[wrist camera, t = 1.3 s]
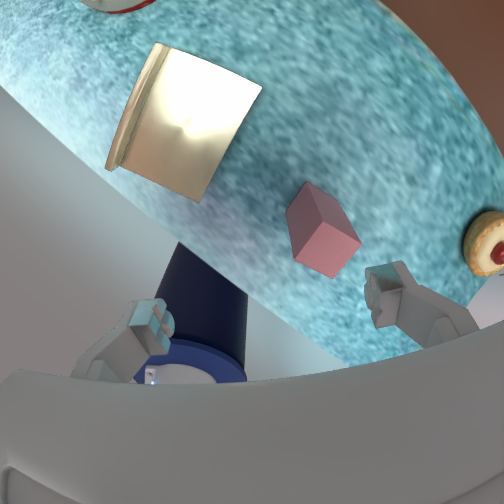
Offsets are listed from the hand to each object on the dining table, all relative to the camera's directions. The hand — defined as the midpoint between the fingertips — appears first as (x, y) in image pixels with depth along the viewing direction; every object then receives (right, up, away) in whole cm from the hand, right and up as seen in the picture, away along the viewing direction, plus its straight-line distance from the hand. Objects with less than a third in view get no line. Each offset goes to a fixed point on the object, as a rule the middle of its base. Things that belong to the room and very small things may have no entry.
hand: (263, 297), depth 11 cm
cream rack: (-7, +17, +20) cm, 27 cm away
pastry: (+40, +5, +27) cm, 48 cm away
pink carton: (+7, +8, +26) cm, 28 cm away
